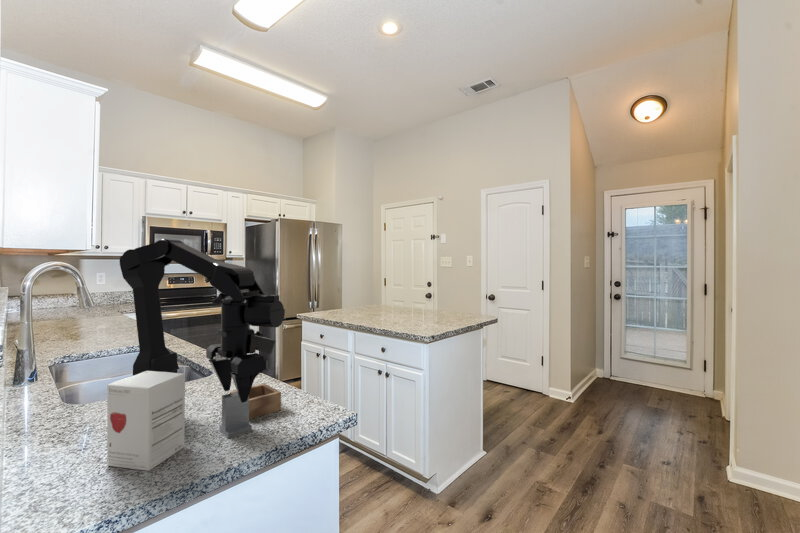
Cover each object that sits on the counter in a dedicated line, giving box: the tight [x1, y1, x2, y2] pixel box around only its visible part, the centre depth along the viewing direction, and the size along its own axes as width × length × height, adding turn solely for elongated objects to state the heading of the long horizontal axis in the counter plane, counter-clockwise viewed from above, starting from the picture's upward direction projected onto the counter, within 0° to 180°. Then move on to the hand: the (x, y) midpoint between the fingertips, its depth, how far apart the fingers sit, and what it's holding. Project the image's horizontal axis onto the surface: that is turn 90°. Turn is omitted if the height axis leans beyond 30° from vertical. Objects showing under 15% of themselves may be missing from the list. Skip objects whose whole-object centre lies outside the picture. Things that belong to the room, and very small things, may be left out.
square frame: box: [229, 383, 282, 421], centre depth 92 cm, size 9×9×4 cm
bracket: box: [218, 392, 253, 440], centre depth 81 cm, size 5×5×8 cm
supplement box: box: [106, 371, 186, 472], centre depth 70 cm, size 9×9×15 cm
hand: (235, 396), depth 81 cm, fingers open, 9 cm apart
